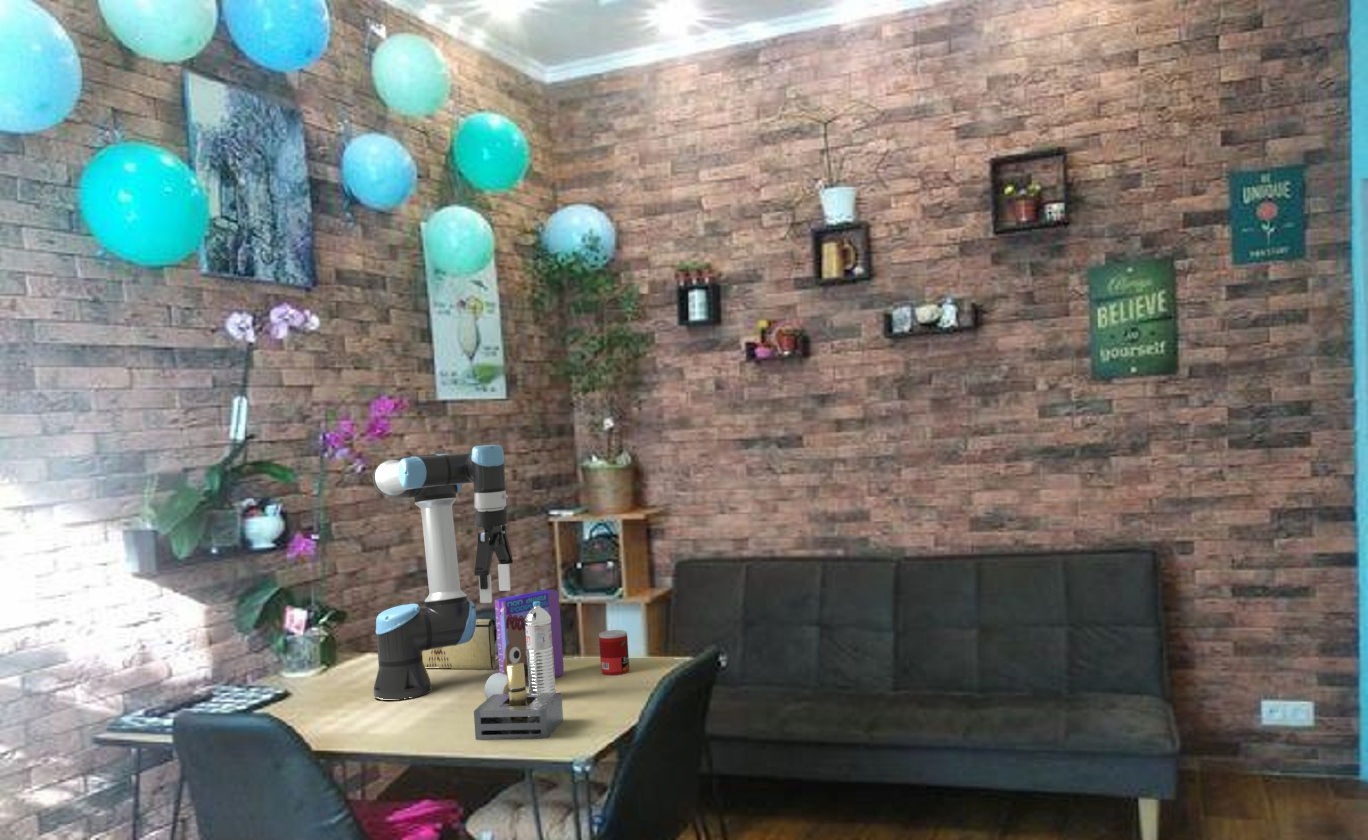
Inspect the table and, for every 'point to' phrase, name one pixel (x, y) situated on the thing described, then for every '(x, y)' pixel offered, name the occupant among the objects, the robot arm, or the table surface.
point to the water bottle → (539, 651)
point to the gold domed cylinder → (516, 686)
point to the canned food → (614, 652)
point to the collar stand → (497, 716)
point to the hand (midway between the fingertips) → (495, 596)
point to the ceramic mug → (496, 685)
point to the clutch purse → (467, 650)
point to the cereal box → (514, 631)
